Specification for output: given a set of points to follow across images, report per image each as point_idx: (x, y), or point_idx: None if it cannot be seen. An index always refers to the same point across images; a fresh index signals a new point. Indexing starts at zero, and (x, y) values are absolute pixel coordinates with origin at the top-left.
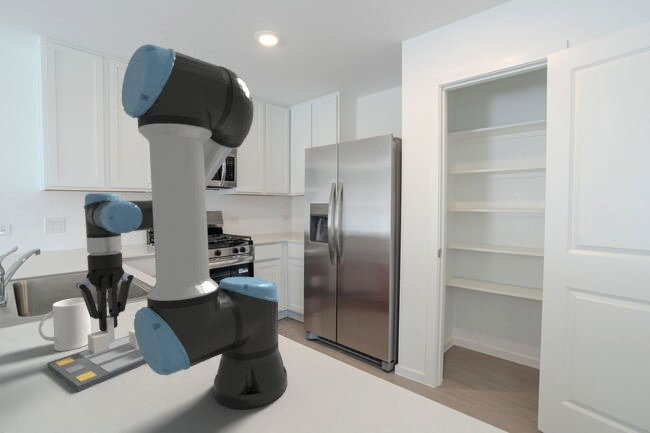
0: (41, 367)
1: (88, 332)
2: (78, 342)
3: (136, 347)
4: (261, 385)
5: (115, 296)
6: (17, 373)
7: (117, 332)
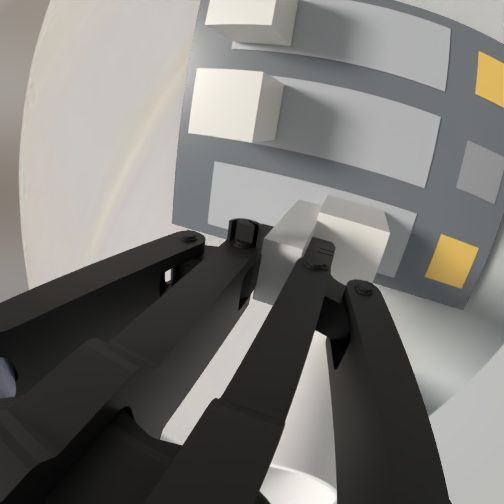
0: (457, 318)
1: None
2: None
3: (281, 83)
4: None
5: (161, 313)
6: (486, 341)
7: None
